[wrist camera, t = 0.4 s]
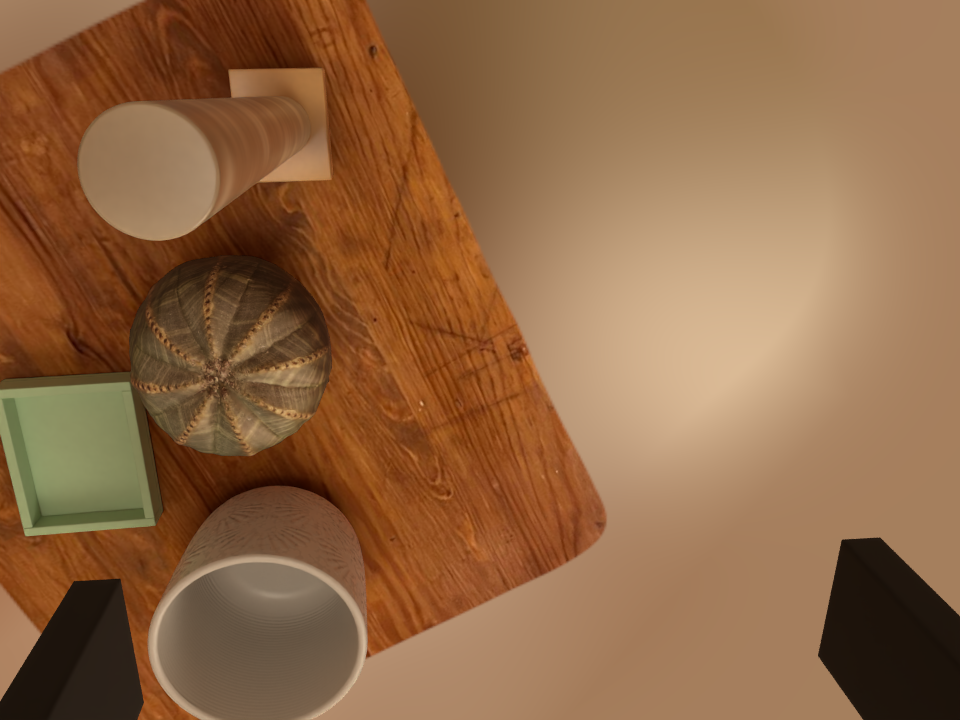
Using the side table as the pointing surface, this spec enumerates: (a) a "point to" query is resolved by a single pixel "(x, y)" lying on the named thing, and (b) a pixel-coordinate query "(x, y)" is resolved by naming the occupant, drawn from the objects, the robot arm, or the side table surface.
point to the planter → (264, 611)
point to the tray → (79, 453)
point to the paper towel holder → (204, 150)
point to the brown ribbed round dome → (229, 354)
